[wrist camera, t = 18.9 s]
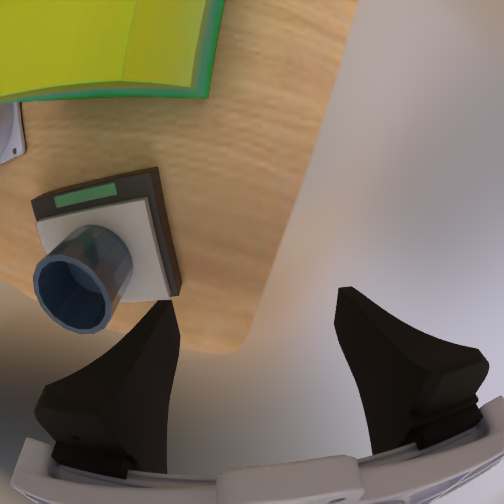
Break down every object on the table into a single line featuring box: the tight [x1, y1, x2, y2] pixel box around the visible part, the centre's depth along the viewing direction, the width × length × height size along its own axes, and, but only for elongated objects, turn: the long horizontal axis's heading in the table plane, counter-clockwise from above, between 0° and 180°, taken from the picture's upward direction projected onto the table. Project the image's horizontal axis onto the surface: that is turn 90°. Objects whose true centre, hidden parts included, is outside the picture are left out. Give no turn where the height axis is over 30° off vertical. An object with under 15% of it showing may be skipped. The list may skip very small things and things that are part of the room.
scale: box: [31, 167, 182, 303], centre depth 19 cm, size 10×9×3 cm
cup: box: [33, 224, 133, 334], centre depth 17 cm, size 5×5×4 cm
